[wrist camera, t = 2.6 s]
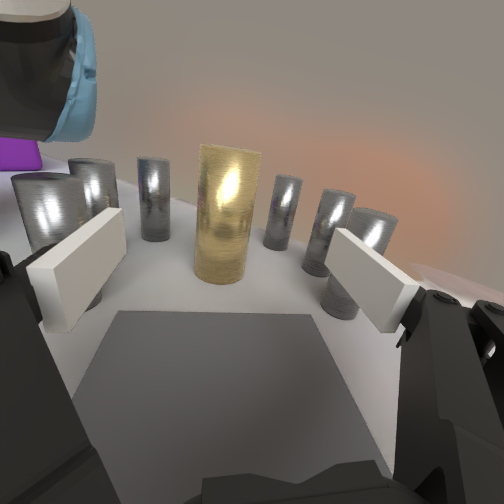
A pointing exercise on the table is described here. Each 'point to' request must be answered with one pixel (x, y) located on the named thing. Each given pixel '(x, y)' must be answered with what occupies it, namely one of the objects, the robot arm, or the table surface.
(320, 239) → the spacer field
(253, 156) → the brass canister
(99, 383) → the mat
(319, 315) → the table surface
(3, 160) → the shopping bag
